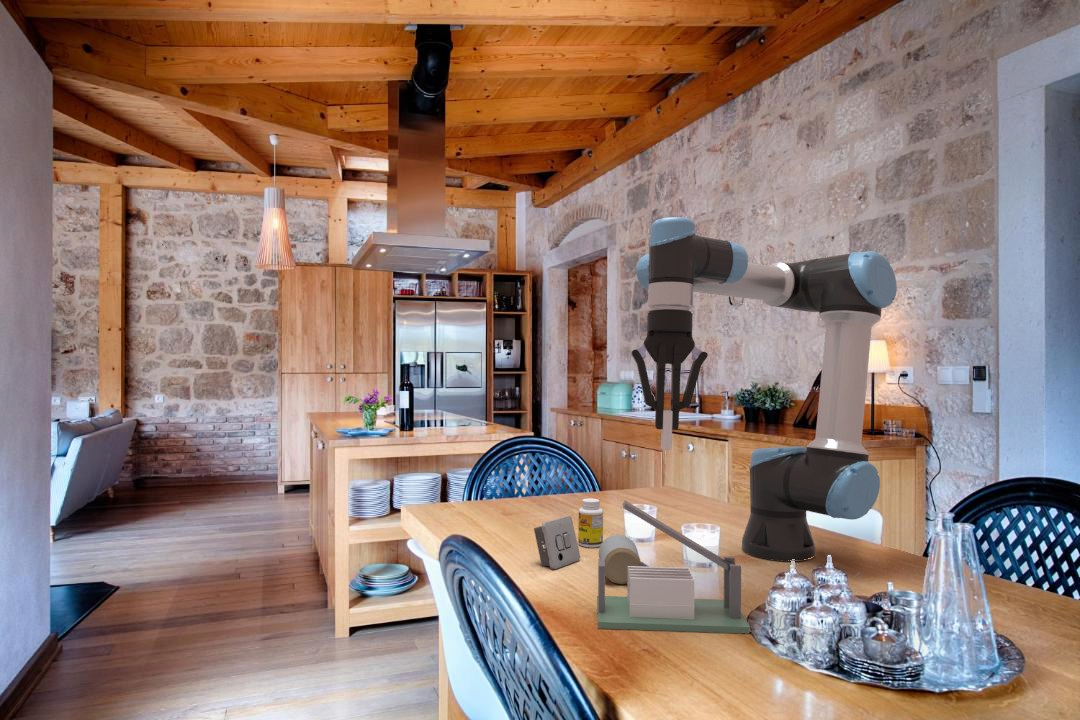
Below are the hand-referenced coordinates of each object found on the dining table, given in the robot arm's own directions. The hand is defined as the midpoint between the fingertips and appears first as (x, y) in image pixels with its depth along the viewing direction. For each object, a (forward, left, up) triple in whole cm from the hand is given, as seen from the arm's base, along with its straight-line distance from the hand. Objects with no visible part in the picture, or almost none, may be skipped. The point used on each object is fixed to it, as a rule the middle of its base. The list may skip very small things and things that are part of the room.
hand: (666, 449), depth 114 cm
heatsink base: (0, +5, -27) cm, 27 cm away
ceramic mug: (+6, -14, -27) cm, 31 cm away
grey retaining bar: (-1, +5, -14) cm, 15 cm away
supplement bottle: (+12, -38, -27) cm, 48 cm away
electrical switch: (+19, -23, -27) cm, 40 cm away
